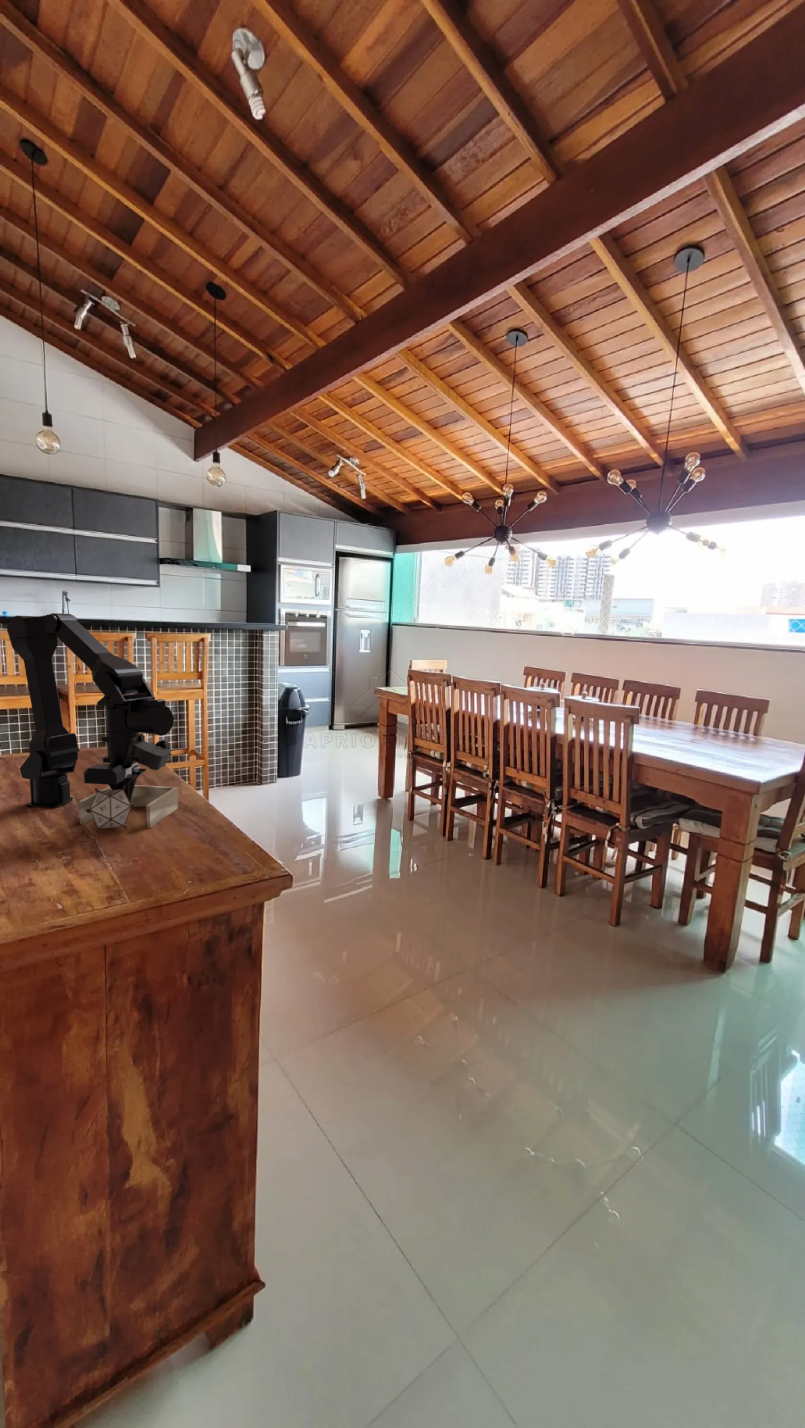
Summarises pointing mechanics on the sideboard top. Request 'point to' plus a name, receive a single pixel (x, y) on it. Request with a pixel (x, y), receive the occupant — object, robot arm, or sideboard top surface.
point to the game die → (110, 808)
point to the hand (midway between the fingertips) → (125, 806)
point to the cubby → (142, 802)
